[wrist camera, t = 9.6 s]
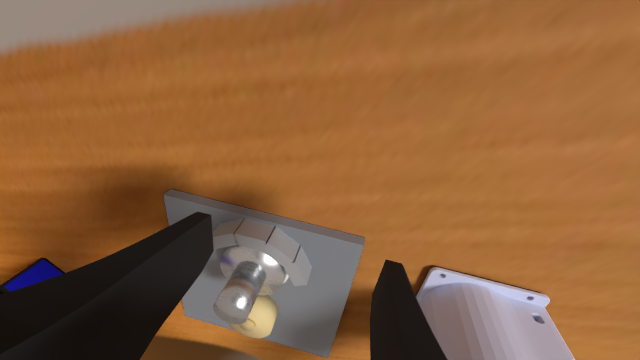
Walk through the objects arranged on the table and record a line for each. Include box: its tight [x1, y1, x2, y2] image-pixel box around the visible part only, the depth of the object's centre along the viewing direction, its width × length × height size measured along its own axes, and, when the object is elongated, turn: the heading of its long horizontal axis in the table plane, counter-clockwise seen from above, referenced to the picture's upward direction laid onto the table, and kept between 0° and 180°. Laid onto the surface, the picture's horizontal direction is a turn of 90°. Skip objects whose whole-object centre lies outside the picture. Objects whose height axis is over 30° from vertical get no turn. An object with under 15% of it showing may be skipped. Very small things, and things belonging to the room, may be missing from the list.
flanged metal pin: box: [213, 245, 287, 324], centre depth 23 cm, size 6×6×6 cm
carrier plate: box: [163, 189, 365, 358], centre depth 27 cm, size 18×18×3 cm
